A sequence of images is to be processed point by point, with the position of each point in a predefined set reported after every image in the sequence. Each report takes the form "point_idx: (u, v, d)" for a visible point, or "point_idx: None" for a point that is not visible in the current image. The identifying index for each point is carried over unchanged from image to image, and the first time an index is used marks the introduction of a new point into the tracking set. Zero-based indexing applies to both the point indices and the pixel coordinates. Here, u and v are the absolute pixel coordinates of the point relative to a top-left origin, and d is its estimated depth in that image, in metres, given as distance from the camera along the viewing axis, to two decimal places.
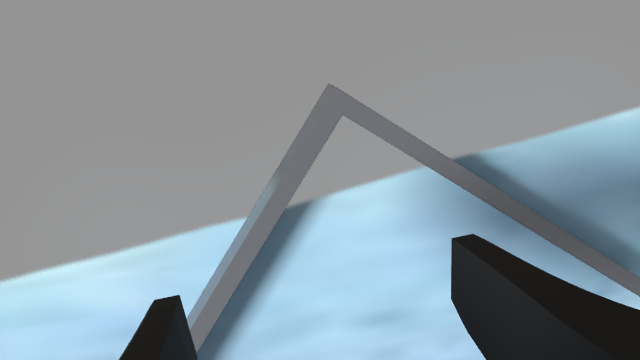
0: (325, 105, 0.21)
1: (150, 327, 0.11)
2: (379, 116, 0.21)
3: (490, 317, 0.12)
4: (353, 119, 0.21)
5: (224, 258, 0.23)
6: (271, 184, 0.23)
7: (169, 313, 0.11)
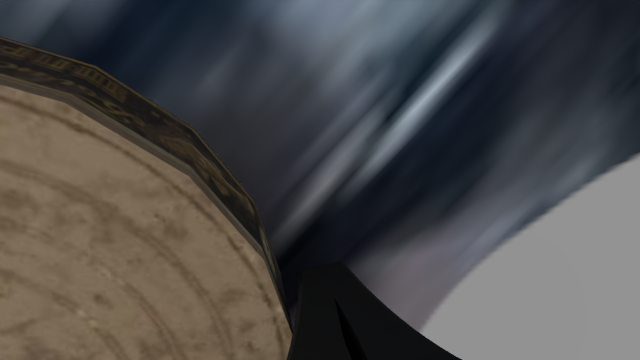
0: None
1: (313, 292, 0.11)
2: None
3: None
4: None
5: None
6: None
7: (325, 280, 0.12)
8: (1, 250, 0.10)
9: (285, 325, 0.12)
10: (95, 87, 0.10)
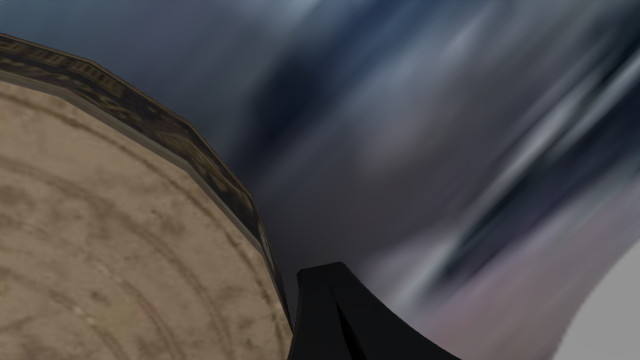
0: None
1: (313, 292, 0.11)
2: None
3: None
4: None
5: None
6: None
7: (325, 280, 0.12)
8: None
9: (284, 322, 0.12)
10: (91, 82, 0.10)
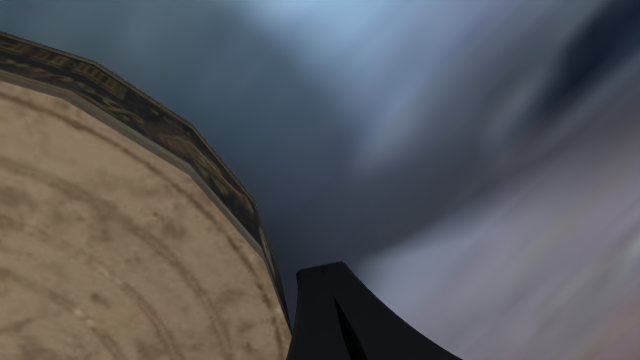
0: None
1: (313, 292, 0.11)
2: None
3: None
4: None
5: None
6: None
7: (325, 280, 0.12)
8: None
9: (284, 326, 0.12)
10: (94, 84, 0.10)
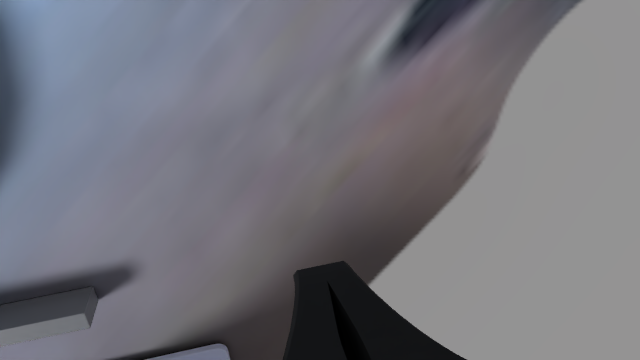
0: None
1: (310, 293, 0.11)
2: None
3: (345, 350, 0.12)
4: None
5: None
6: None
7: (322, 281, 0.12)
8: None
9: None
10: None
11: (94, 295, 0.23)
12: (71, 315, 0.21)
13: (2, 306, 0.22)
